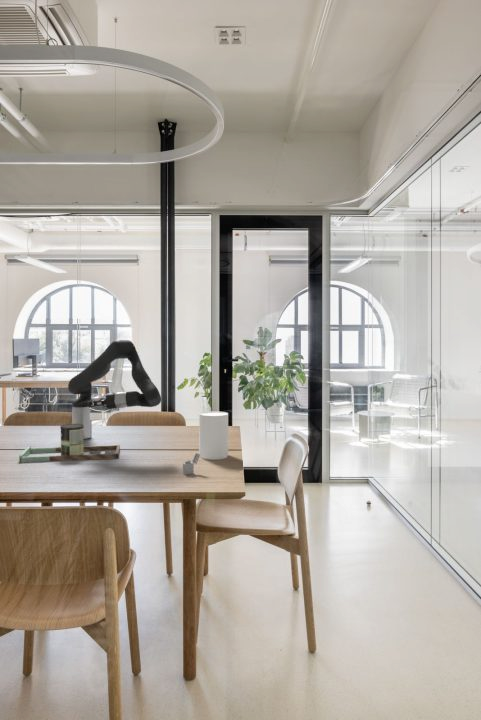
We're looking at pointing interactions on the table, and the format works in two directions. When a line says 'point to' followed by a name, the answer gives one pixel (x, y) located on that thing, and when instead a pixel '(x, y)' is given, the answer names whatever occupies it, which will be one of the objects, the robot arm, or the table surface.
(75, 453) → the coffee can
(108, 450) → the mats
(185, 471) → the lighter
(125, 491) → the table surface
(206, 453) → the canister
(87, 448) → the walnut lane
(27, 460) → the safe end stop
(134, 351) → the robot arm
